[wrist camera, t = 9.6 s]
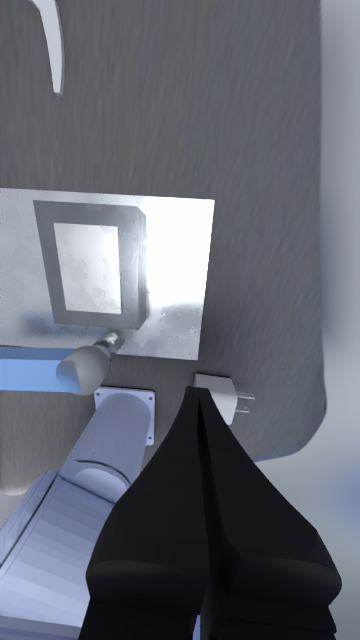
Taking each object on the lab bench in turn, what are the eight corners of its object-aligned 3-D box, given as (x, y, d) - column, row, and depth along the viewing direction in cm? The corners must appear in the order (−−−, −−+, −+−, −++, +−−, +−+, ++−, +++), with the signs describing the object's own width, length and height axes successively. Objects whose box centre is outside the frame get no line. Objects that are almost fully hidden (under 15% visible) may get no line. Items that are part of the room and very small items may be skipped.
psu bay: (197, 355, 22) (199, 383, 17) (4, 340, 22) (-47, 363, 17) (212, 203, 16) (222, 180, 12) (-38, 189, 17) (-128, 161, 12)
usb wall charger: (195, 371, 22) (197, 393, 19) (250, 378, 22) (263, 402, 19) (191, 396, 24) (191, 422, 20) (242, 403, 24) (253, 431, 20)
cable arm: (108, 346, 16) (96, 357, 14) (112, 380, 17) (103, 396, 15) (-73, 342, 16) (-107, 353, 14) (-56, 375, 17) (-86, 389, 16)
